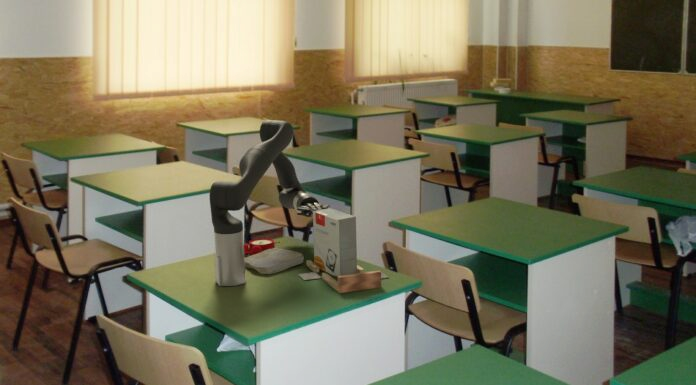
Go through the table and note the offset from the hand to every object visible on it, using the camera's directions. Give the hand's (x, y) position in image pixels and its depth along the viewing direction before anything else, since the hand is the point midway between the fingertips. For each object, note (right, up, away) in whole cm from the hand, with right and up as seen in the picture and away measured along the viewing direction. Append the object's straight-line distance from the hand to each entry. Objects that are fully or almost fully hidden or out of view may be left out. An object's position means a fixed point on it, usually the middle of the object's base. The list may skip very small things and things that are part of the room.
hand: (321, 214), depth 286 cm
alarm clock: (-23, -15, +16) cm, 32 cm away
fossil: (-18, -18, +1) cm, 25 cm away
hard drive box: (+5, -19, -9) cm, 21 cm away
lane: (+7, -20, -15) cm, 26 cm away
